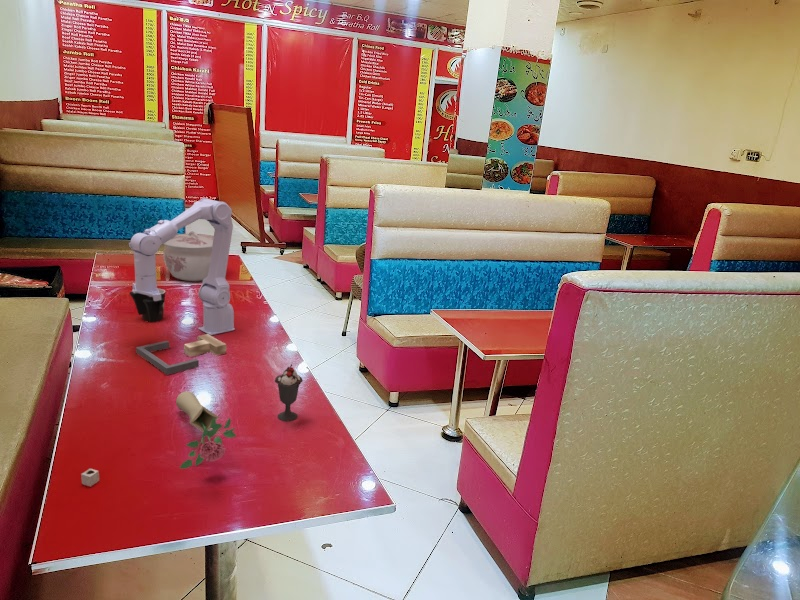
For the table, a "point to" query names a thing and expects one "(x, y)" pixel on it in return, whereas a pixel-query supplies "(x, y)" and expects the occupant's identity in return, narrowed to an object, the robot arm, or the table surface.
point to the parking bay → (160, 364)
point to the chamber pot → (188, 256)
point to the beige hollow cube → (90, 477)
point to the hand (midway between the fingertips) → (148, 317)
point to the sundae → (288, 392)
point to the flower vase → (203, 429)
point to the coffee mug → (146, 317)
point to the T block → (205, 346)
